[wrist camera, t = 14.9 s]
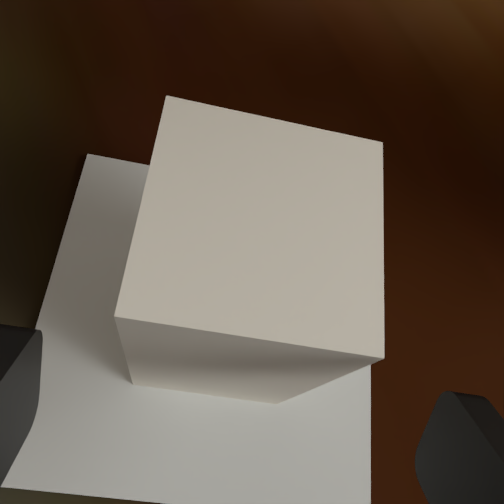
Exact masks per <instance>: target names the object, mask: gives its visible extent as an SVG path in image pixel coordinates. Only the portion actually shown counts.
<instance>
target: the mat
mask: <svg viewBox="0 0 504 504" xmlns="http://www.w3.org/2000/svg"><path fill="white" fill-rule="evenodd" d="M149 167H150V166H149V165H144V164H139V163H134V162H128V161H123V160H118V159H113V158H108V157H102V156H97V155H92V154H87V157H86V160H85V164H84V167H83V170H82V174H81V177H80V180H79V184H78V187H77V191H76V194H75V197H74V201H73V204H72V207H71V211H70V214H69V217H68V221H67V224H66V227H65V231H64V234H63V237H62V241H61V244H60V247H59V251H58V254H57V257H56V261H55V264H54V267H53V271H52V274H51V277H50V281H49V284H48V288H47V291H46V294H45V298H44V301H43V304H42V308H41V311H40V314H39V318H38V321H37V324H36V328H35V329H37V330H41V332H42V335H43V346H42V362H41V378H40V394H39V403H38V408H37V412H36V416H35V419H34V422H33V425H32V427H31V430H30V432H29V434H28V436H27V438H26V440H25V442H24V444H23V445H22V447H21V449H20V451H19V453H18V455H17V457H16V459H15V461H14V462H13V464H12V466H11V468H10V470H9V472H8V474H7V476H6V478H5V479H4V481H3V483H2V485H1V487H7V488H17V489H27V490H37V491H47V492H57V493H67V494H77V495H87V496H97V497H107V498H116V499H126V500H136V501H146V502H156V503H166V504H371V364H370V365H368V366H366V367H363V368H361V369H359V370H356V371H354V372H351V373H349V374H347V375H344V376H342V377H340V378H337V379H335V380H333V381H330V382H328V383H326V384H323V385H321V386H319V387H316V388H314V389H312V390H309V391H307V392H305V393H302V394H300V395H298V396H295V397H293V398H291V399H288V400H286V401H284V402H281V403H279V404H269V403H262V402H255V401H248V400H240V399H233V398H226V397H219V396H211V395H204V394H197V393H190V392H182V391H175V390H168V389H161V388H153V387H146V386H139V385H133V383H132V379H131V376H130V372H129V369H128V365H127V362H126V358H125V354H124V351H123V347H122V344H121V340H120V336H119V333H118V329H117V326H116V322H115V318H114V314H115V310H116V306H117V301H118V297H119V293H120V289H121V284H122V280H123V276H124V272H125V268H126V263H127V259H128V255H129V251H130V247H131V242H132V238H133V234H134V230H135V226H136V221H137V217H138V213H139V209H140V204H141V200H142V196H143V192H144V188H145V183H146V179H147V175H148V171H149Z"/></svg>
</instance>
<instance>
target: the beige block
mask: <svg viewBox="0 0 504 504" xmlns="http://www.w3.org/2000/svg"><path fill="white" fill-rule="evenodd" d="M114 318H115V322H116V326H117V329H118V333H119V336H120V340H121V344H122V347H123V351H124V354H125V358H126V362H127V365H128V369H129V372H130V376H131V379H132V383H133V385H139V386H146V387H153V388H161V389H168V390H175V391H182V392H190V393H197V394H204V395H211V396H219V397H226V398H233V399H240V400H248V401H255V402H262V403H269V404H279V403H281V402H284V401H286V400H288V399H291V398H293V397H295V396H298V395H300V394H302V393H305V392H307V391H309V390H312V389H314V388H316V387H319V386H321V385H323V384H326V383H328V382H330V381H333V380H335V379H337V378H340V377H342V376H344V375H347V374H349V373H351V372H354V371H356V370H359V369H361V368H363V367H366V366H368V365H370V364H373V363H375V362H377V361H380V360H382V359H384V230H383V142H378V141H374V140H369V139H365V138H360V137H355V136H351V135H346V134H341V133H337V132H332V131H328V130H323V129H318V128H314V127H309V126H305V125H300V124H295V123H291V122H286V121H282V120H277V119H272V118H268V117H263V116H259V115H254V114H249V113H245V112H240V111H235V110H231V109H226V108H222V107H217V106H212V105H208V104H203V103H199V102H194V101H189V100H185V99H180V98H176V97H171V96H166V99H165V103H164V108H163V112H162V116H161V120H160V124H159V129H158V133H157V137H156V141H155V146H154V150H153V154H152V158H151V162H150V167H149V171H148V175H147V179H146V183H145V188H144V192H143V196H142V200H141V204H140V209H139V213H138V217H137V221H136V226H135V230H134V234H133V238H132V242H131V247H130V251H129V255H128V259H127V263H126V268H125V272H124V276H123V280H122V284H121V289H120V293H119V297H118V301H117V306H116V310H115V314H114Z"/></svg>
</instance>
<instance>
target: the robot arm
mask: <svg viewBox="0 0 504 504" xmlns="http://www.w3.org/2000/svg"><path fill="white" fill-rule="evenodd" d="M42 346H43V335H42V332H41V330H37V329H30V328H23V327H17V326H10V325H3V324H0V487H1V485H2V483H3V481H4V479H5V478H6V476H7V474H8V472H9V470H10V468H11V466H12V464H13V462H14V461H15V459H16V457H17V455H18V453H19V451H20V449H21V447H22V445H23V444H24V442H25V440H26V438H27V436H28V434H29V432H30V430H31V427H32V425H33V422H34V419H35V416H36V412H37V408H38V403H39V394H40V378H41V362H42ZM415 469H416V475H417V478H418V481H419V483H420V485H421V487H422V490H423V492H424V494H425V496H426V498H427V500H428V502H429V504H504V420H503V418H502V417H501V416H500V414H499V413H498V412H497V411H496V409H495V408H494V407H493V406H492V404H491V403H490V402H489V401H488V400H487V399H486V398H485V397H483V396H478V395H471V394H464V393H458V392H451V391H446V392H443V393H442V394H441V395H440V396H439V398H438V400H437V402H436V404H435V407H434V409H433V412H432V414H431V416H430V419H429V421H428V423H427V426H426V428H425V430H424V433H423V435H422V437H421V440H420V442H419V445H418V447H417V450H416V456H415Z"/></svg>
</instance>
